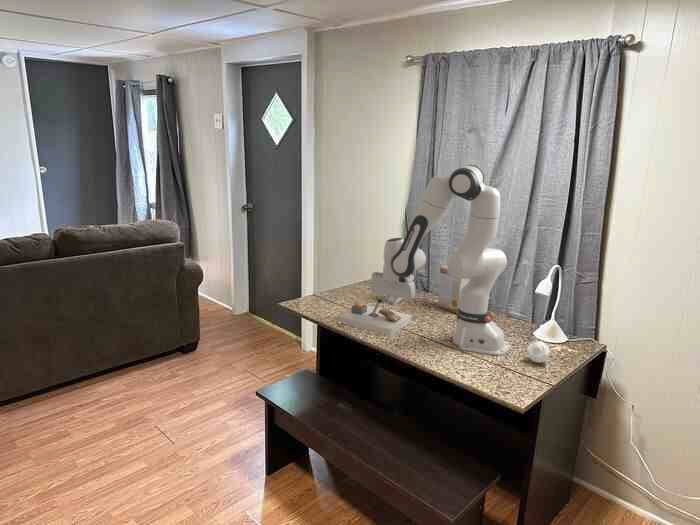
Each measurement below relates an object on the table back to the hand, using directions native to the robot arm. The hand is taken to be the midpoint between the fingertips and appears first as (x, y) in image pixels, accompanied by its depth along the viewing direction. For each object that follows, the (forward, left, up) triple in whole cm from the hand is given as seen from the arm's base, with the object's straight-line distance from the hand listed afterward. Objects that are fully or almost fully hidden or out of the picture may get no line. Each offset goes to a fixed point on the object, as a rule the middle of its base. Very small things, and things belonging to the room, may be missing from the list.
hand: (391, 305), depth 211 cm
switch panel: (+8, 0, -10) cm, 13 cm away
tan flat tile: (+1, 0, -5) cm, 5 cm away
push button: (+16, 0, -5) cm, 17 cm away
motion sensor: (-62, 0, -10) cm, 63 cm away
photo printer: (+13, -31, -10) cm, 35 cm away
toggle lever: (+9, 0, -6) cm, 11 cm away
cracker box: (-15, -36, -10) cm, 40 cm away
